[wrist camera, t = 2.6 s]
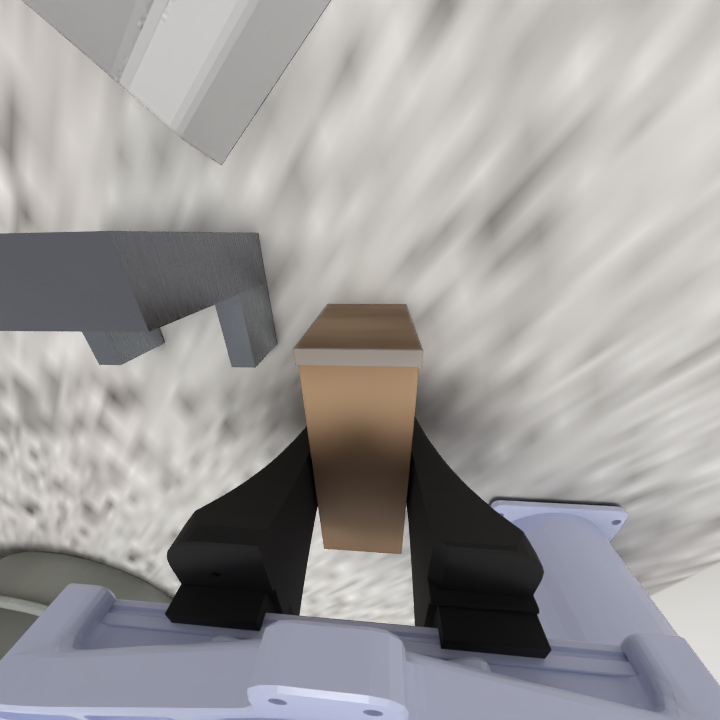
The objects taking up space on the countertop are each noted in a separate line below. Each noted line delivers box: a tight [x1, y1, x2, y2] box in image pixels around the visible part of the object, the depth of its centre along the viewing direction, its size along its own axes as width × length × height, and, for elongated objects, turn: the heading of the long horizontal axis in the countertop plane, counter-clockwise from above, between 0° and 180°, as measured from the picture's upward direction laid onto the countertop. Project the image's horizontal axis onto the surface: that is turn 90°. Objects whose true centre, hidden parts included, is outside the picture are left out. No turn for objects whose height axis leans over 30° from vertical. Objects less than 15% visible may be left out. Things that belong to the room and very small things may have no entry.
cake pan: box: [0, 552, 173, 660], centre depth 27 cm, size 25×25×4 cm
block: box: [293, 304, 423, 554], centre depth 12 cm, size 10×4×5 cm, turn 1°
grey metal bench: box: [0, 231, 277, 367], centre depth 9 cm, size 5×7×6 cm
